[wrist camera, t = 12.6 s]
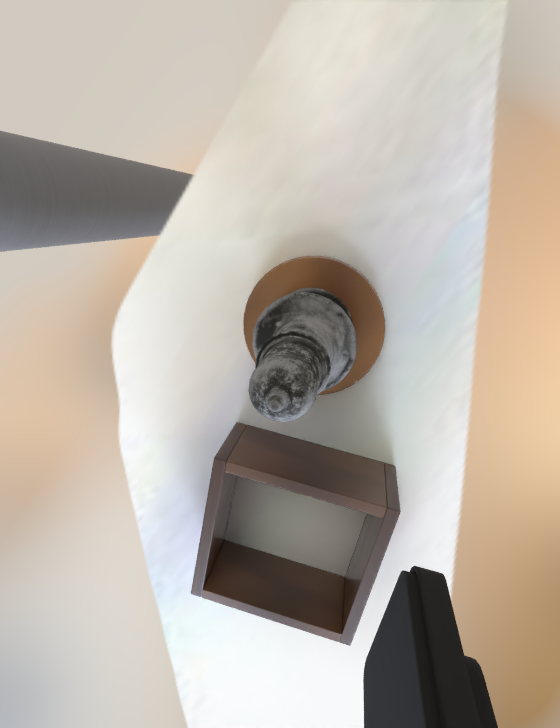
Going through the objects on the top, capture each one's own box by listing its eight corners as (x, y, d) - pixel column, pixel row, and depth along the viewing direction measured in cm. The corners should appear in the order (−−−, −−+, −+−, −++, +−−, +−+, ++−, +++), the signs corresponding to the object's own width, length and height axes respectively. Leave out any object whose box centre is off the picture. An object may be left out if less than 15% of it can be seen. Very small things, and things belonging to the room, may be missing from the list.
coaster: (235, 372, 30) (233, 375, 30) (259, 241, 27) (256, 241, 26) (363, 406, 29) (362, 410, 29) (403, 274, 26) (403, 275, 25)
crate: (213, 544, 35) (190, 594, 31) (236, 421, 31) (213, 457, 27) (352, 587, 34) (350, 646, 30) (395, 465, 30) (400, 511, 25)
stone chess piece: (368, 362, 27) (369, 463, 16) (280, 381, 29) (227, 485, 18) (345, 271, 26) (329, 314, 15) (254, 296, 27) (177, 353, 16)
